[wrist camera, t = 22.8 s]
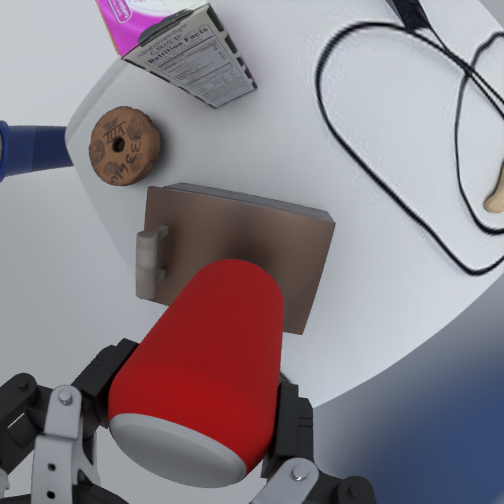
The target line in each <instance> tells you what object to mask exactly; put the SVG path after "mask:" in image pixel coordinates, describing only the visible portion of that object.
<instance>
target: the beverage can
mask: <svg viewBox="0 0 504 504" xmlns="http://www.w3.org/2000/svg"><path fill="white" fill-rule="evenodd" d="M283 319H284V300H283V296H282V293H281V290H280V288H279V286H278V284H277V282H276V281H275V279H274V278H273V277H272V276H271V275H270V274H269V273H268V272H267V271H266V270H265V269H263V268H262V267H260V266H259V265H257V264H255V263H252V262H250V261H246V260H242V259H224V260H219V261H215V262H212V263H210V264H208V265H206V266H204V267H203V268H202V269H200V270H199V271H198V272H197V273H196V274H195V275H194V276H193V278H192V279H191V280H190V281H189V282H188V284H187V285H186V286H185V287H184V289H183V290H182V291H181V292H180V294H179V295H178V296H177V297H176V299H175V300H174V301H173V302H172V304H171V305H170V306H169V307H168V309H167V310H166V311H165V312H164V314H163V315H162V316H161V317H160V319H159V320H158V322H157V323H156V324H155V325H154V326H153V328H152V329H151V330H150V331H149V333H148V334H147V335H146V337H145V338H144V339H143V341H142V342H141V343H140V344H139V346H138V347H137V348H136V350H135V351H134V352H133V354H132V355H131V356H130V357H129V359H128V360H127V361H126V363H125V364H124V365H123V367H122V368H121V369H120V371H119V372H118V373H117V375H116V376H115V378H114V380H113V382H112V384H111V387H110V391H109V396H108V417H109V430H110V433H111V435H112V437H113V438H114V440H115V442H116V443H117V445H118V446H119V447H120V449H121V450H122V451H123V452H124V453H125V454H126V455H127V456H128V457H129V458H130V459H132V460H133V461H134V462H136V463H137V464H139V465H140V466H141V467H143V468H145V469H146V470H148V471H150V472H152V473H154V474H156V475H158V476H160V477H163V478H165V479H168V480H171V481H174V482H177V483H180V484H184V485H188V486H193V487H202V488H220V487H225V486H228V485H231V484H234V483H237V482H239V481H241V480H243V479H244V478H245V477H246V476H247V475H248V474H249V473H250V472H251V471H252V470H253V469H254V468H255V467H256V466H257V465H258V464H259V463H260V462H261V461H262V459H263V458H264V457H265V456H266V454H267V452H268V450H269V448H270V446H271V444H272V440H273V436H274V428H275V418H276V408H277V397H278V386H279V374H280V362H281V349H282V334H283Z"/></svg>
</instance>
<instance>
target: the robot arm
mask: <svg viewBox="0 0 504 504" xmlns="http://www.w3.org/2000/svg"><path fill="white" fill-rule="evenodd" d="M2 158H3V136H2V133H1V131H0V167H1V163H2ZM138 346H139V343H137V342H134V341H131V340H128V339H126V338H124V339H122V340H121V341H120V342H119V343H118V345H117V346H113V345H110V346H108V347H106V348H104V349H102V350H101V351H100V352H99V354H98V355H97V356H96V358H94V359H93V360H92V361H91V363H90V364H89V365H88V366H87V367H86V368H85V369H84V370H83V371H82V373H81V374H80V375H79V376H78V377H77V378H76V379H75V381H74V382H73V383H72V384H71V385H61V386H58V387H56V388H55V389H51V388H47V387H43V386H40V385H37V382H36V380H35V378H34V377H33V376H32V375H30V374H27V373H20V374H17V375H15V376H14V377H13V378H11V379H10V380H9V381H7V382H6V383H5V384H4V385H2V386H1V387H0V504H129V503H128V502H126V501H125V500H123V499H122V498H121V497H119V496H118V495H116V494H114V493H112V492H110V491H108V490H106V489H104V488H102V487H101V483H100V478H99V475H98V471H97V458H96V457H97V456H96V455H97V454H96V440H97V439H96V438H97V435H96V429H97V428H98V426H99V425H100V426H102V427H104V428H106V429H108V427H109V417H108V396H109V391H110V387H111V384H112V382H113V380H114V378H115V376H116V375H117V373H118V372H119V371H120V369H121V368H122V367H123V365H124V364H125V363H126V361H127V360H128V359H129V357H130V356H131V355H132V354H133V352H134V351H135V350H136V348H137V347H138ZM23 413H24V415H23V416H22V417H20V418H19V419H18V420H17V421H16V422H15V423H14V424H13V425H12V426H10V427H9V428H8V426H9V425H10V424H11V423H13V422H14V421H15V420H16V419H17V418H18V417H19V416H20V415H21V414H23ZM7 428H8V429H7ZM33 449H34V455H33V465H32V479H31V494H26V495H21V496H14V497H7V498H4V491H5V490H8V489H9V487H10V484H9V482H8V475H9V473H11V472H12V471H13V470H14V469H15V468H16V467H17V466H18V464H20V463H21V462H22V461H23V460H24V458H25V457H26V456H27V455H28V454H29V453H30V452H31V451H32V450H33ZM261 478H267V483H266V485H265V486H264V488H263V489H262V490H261V491H260V492H259V493H258V494H257V495H256V497H255V498H254V499H253V500H252V501H251V502H250V503H249V504H377V503H376V499H375V495H374V491H373V487H372V485H371V483H370V482H369V481H368V480H367V479H365V478H363V477H360V476H351V477H348V478H346V479H344V480H343V479H339V478H336V477H333V476H330V475H327V474H325V473H323V472H322V471H320V470H319V469H318V468H317V466H316V465H315V462H314V458H313V408H312V406H311V404H310V402H309V400H308V398H301V397H298V385H295V384H289V383H284V382H280V384H279V387H278V397H277V408H276V418H275V428H274V436H273V440H272V444H271V446H270V448H269V450H268V452H267V454H266V456H265V457H264V458H263V464H262V471H261Z"/></svg>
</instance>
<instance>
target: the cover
mask: <svg viewBox="0 0 504 504" xmlns="http://www.w3.org/2000/svg"><path fill="white" fill-rule="evenodd" d="M335 224H336V223H335V222H334V221H332V220H328V219H324V218H319V217H315V216H311V215H306V214H302V213H297V212H292V211H288V210H283V209H278V208H273V207H269V206H264V205H259V204H253V203H248V202H243V201H238V200H233V199H227V198H222V197H216V196H210V195H205V194H199V193H193V192H187V191H180V190H174V189H168V188H161V187H154V186H151V187H148V191H147V201H146V213H145V226H144V231H141V232H138V233H137V243H136V296H137V297H139V298H141V299H146V300H149V301H153V302H156V303H160V304H163V305H167V306H170V305H171V304H172V302H173V301H174V300H175V299H176V297H177V296H178V295H179V294H180V292H181V291H182V290H183V289H184V287H185V286H186V285H187V284H188V282H189V281H190V280H191V279H192V278H193V276H194V275H195V274H196V273H197V272H198V271H199V270H200V269H202V268H203V267H204V266H206V265H208V264H210V263H212V262H215V261H219V260H224V259H242V260H246V261H250V262H252V263H255V264H257V265H259V266H260V267H262V268H263V269H265V270H266V271H267V272H268V273H269V274H270V275H271V276H272V277H273V278H274V279H275V281H276V282H277V284H278V286H279V288H280V290H281V293H282V296H283V300H284V319H283V332H287V333H293V334H299V335H302V334H303V331H304V328H305V325H306V323H307V320H308V316H309V313H310V310H311V307H312V304H313V301H314V298H315V295H316V291H317V288H318V285H319V282H320V278H321V275H322V271H323V268H324V265H325V261H326V257H327V254H328V250H329V247H330V243H331V239H332V236H333V232H334V228H335Z"/></svg>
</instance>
